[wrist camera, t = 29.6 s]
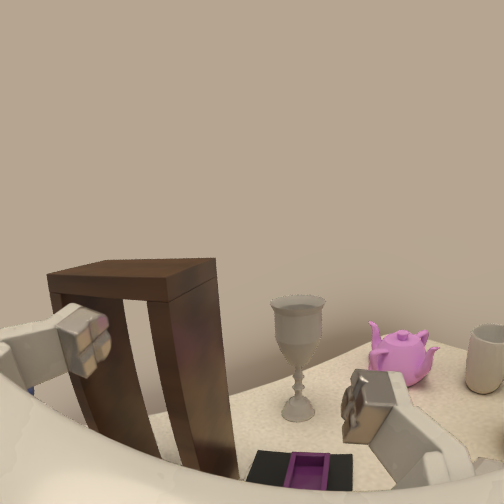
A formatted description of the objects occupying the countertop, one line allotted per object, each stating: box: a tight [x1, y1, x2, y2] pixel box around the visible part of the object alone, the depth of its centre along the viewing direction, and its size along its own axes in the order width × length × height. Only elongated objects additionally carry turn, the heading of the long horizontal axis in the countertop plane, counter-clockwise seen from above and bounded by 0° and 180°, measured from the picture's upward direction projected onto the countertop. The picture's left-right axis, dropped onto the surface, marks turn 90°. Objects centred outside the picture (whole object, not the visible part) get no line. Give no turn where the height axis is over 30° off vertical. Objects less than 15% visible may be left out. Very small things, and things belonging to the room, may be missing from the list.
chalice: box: [270, 295, 326, 422], centre depth 39 cm, size 7×7×18 cm
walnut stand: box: [47, 258, 239, 480], centre depth 23 cm, size 8×12×26 cm, turn 75°
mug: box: [466, 324, 504, 394], centre depth 35 cm, size 13×9×10 cm
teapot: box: [369, 321, 440, 387], centre depth 46 cm, size 12×14×9 cm
